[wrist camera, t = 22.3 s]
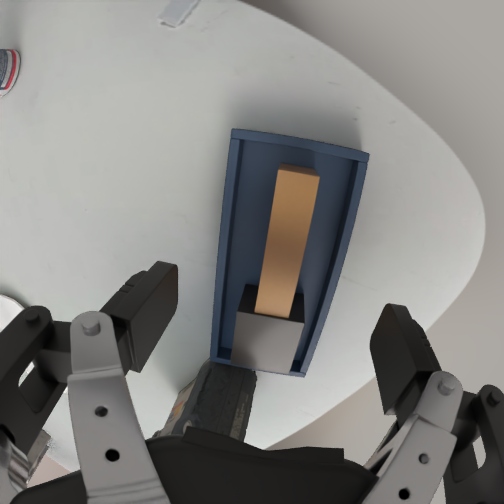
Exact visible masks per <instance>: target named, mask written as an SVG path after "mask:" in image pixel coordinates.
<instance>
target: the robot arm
mask: <svg viewBox="0 0 504 504" xmlns="http://www.w3.org/2000/svg"><path fill="white" fill-rule="evenodd" d="M177 304H178V267H177V265H176V264H171V263H166V262H162V261H157V262H156V263H155V264H154V265H153V266H152V267H151V268H150V269H149V270H148V271H141V272H139V273H137V274H135V275H133V276H131V278H130V279H129V280H128V281H127V282H126V283H125V285H123V286H122V287H121V288H120V289H119V291H117V292H116V293H115V294H114V295H113V297H112V298H111V299H110V300H109V301H108V302H107V303H106V304H105V305H104V306H103V307H102V308H101V310H100V311H99V312H98V311H89V312H85V313H82V314H80V315H78V316H77V317H76V318H74V320H73V321H72V322H62V321H53V319H52V316H51V313H50V311H49V310H48V309H47V308H46V307H43V306H31V307H28V308H26V309H24V310H22V311H21V312H20V313H19V314H18V315H17V316H16V317H15V318H14V319H13V320H12V321H11V322H10V323H9V324H8V325H7V326H6V327H5V328H4V329H3V330H2V331H1V332H0V504H430V502H431V500H432V498H433V496H434V494H435V492H436V490H437V488H438V486H439V484H440V482H441V479H442V477H443V480H444V488H445V497H446V504H504V394H503V393H502V392H501V390H500V389H498V388H497V387H495V386H493V385H484V386H483V387H482V388H481V390H480V391H479V392H478V393H477V394H474V393H470V392H466V391H463V388H462V385H461V383H460V381H459V380H458V379H457V378H456V377H455V376H454V375H452V374H450V373H449V372H445V371H442V369H441V367H440V365H439V363H438V360H437V358H436V356H435V354H434V352H433V349H432V347H430V343H429V341H428V340H427V336H426V335H425V332H424V330H423V328H422V327H421V326H420V325H419V324H418V323H417V322H416V321H415V320H413V319H412V317H411V315H410V313H409V311H408V309H407V307H406V306H403V305H396V304H390V303H388V304H386V305H385V307H384V309H383V311H382V313H381V316H380V318H379V320H378V322H377V324H376V327H375V329H374V331H373V333H372V336H371V339H370V352H371V356H372V360H373V364H374V368H375V373H376V377H377V381H378V386H379V391H380V396H381V400H382V406H383V410H384V415H396V417H397V420H396V421H395V422H394V423H393V425H392V426H391V428H390V429H389V431H388V433H387V434H386V436H385V437H384V439H383V440H382V442H381V443H380V445H379V446H378V448H377V449H376V451H375V452H374V454H373V455H372V456H371V458H370V459H369V460H368V462H367V463H366V464H365V465H364V466H361V465H359V464H357V463H355V462H353V461H350V460H347V459H344V449H343V448H321V447H300V448H291V449H282V450H271V451H266V450H262V449H259V448H257V447H254V446H252V445H249V444H247V443H244V442H242V441H239V440H237V439H235V438H232V437H230V436H228V435H225V434H220V433H216V432H212V431H207V430H203V429H199V428H195V427H192V426H188V425H187V427H186V430H185V433H184V435H179V434H176V435H163V436H157V437H153V438H149V439H147V440H145V439H144V436H143V433H142V430H141V427H140V425H139V422H138V419H137V415H136V412H135V409H134V406H133V403H132V399H131V396H130V393H129V389H128V385H127V382H126V378H125V376H126V374H127V373H128V371H129V370H132V371H135V372H138V373H140V372H141V370H142V369H143V367H144V365H145V363H146V362H147V360H148V358H149V356H150V355H151V353H152V351H153V350H154V348H155V346H156V344H157V343H158V341H159V339H160V338H161V336H162V334H163V332H164V331H165V329H166V327H167V326H168V324H169V322H170V321H171V319H172V317H173V316H174V314H175V311H176V308H177ZM31 362H32V363H33V365H34V368H33V369H32V370H31V372H30V373H29V374H28V376H27V377H26V378H25V380H24V381H23V383H22V384H21V385H20V387H19V386H18V384H19V379H20V377H21V375H22V374H23V373H24V371H25V370H26V369H27V367H28V366H29V365H30V363H31ZM66 387H68V397H69V406H70V414H71V421H72V428H73V434H74V439H75V445H76V450H77V455H78V459H79V464H80V468H81V469H80V470H77V471H75V472H72V473H70V474H67V475H65V476H62V477H59V478H56V479H54V480H51V481H48V482H45V483H42V484H39V485H36V486H33V487H30V488H27V482H29V480H30V478H31V476H30V472H29V462H28V459H27V455H28V453H29V451H30V449H31V447H32V446H33V444H34V442H35V440H36V438H37V436H38V435H39V433H40V431H41V429H42V427H43V426H44V424H45V422H46V420H47V419H48V417H49V415H50V414H51V412H52V410H53V409H54V407H55V405H56V404H57V402H58V400H59V399H60V397H61V395H62V394H63V392H64V391H65V389H66ZM480 436H481V437H482V441H483V445H484V449H485V452H486V459H485V462H484V464H483V466H482V467H480V468H479V469H478V465H477V460H476V457H475V452H474V448H473V444H472V443H473V442H474V441H475V440H476V439H478V437H480Z"/></svg>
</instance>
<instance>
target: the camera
mask: <svg viewBox="0 0 504 504" xmlns="http://www.w3.org/2000/svg"><path fill="white" fill-rule="evenodd" d="M256 381H257V376H256V372H255V371H253V370H251V369H247V368H242V367H237V366H232V365H227V364H223V363H218V362H213V361H210V358H209V359H208V360H207V361H206V362H205V363H204V364H203V366H202V367H201V369H200V371H199V373H198V376H197V378H196V379H194V380H193V381H192V382H191V383H190V384H189V385H188V386H187V387H186V388H185V389H183V390H182V391H181V392H180V393H179V395H178V397H177V400H176V402H175V404H174V406H173V408H172V411H171V413H170V415H169V417H168V420H167V422H166V424H165V426H164V428H163V429H162V430H160V431H159V430H158V431H157V432H155V434H154V435H153V436H152V438H153V437H157V436H163V435H176V434H179V435H184V433H185V430H186V427H187V425H188V426H192V427H195V428H199V429H203V430H207V431H212V432H216V433H220V434H225V435H228V436H230V437H232V438H235V439H237V440H239V441H242V442H244V438H245V435H246V429H247V426H248V421H249V416H250V412H251V408H252V401H253V394H254V391H255V387H256Z"/></svg>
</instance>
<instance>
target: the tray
mask: <svg viewBox="0 0 504 504" xmlns="http://www.w3.org/2000/svg"><path fill="white" fill-rule="evenodd" d="M369 155H370V154H369V153H366V152H363V151H359V150H355V149H351V148H346V147H342V146H338V145H333V144H328V143H324V142H319V141H314V140H309V139H303V138H298V137H292V136H286V135H280V134H273V133H267V132H259V131H252V130H244V129H232V130H231V139H230V146H229V154H228V162H227V170H226V179H225V188H224V197H223V206H222V216H221V226H220V236H219V246H218V257H217V268H216V280H215V292H214V305H213V319H212V333H211V349H210V361H213V362H218V363H223V364H227V365H232V366H237V367H242V368H247V369H253V370H258V371H264V372H270V373H276V374H283V375H290V376H297V377H305V375H306V372H307V370H308V367H309V365H310V362H311V359H312V357H313V354H314V351H315V349H316V346H317V343H318V341H319V338H320V335H321V332H322V329H323V326H324V323H325V321H326V318H327V315H328V312H329V309H330V306H331V302H332V299H333V296H334V293H335V290H336V287H337V283H338V280H339V277H340V274H341V270H342V267H343V263H344V260H345V256H346V253H347V249H348V245H349V242H350V238H351V234H352V230H353V227H354V223H355V219H356V215H357V210H358V206H359V202H360V198H361V193H362V189H363V184H364V180H365V175H366V170H367V165H368V160H369ZM280 163H285V164H291V165H297V166H302V167H307V168H313V169H315V170H316V172H317V173H318V175H319V177H320V179H319V184H318V190H317V195H316V200H315V205H314V210H313V214H312V219H311V224H310V229H309V233H308V238H307V243H306V247H305V251H304V256H303V260H302V265H301V269H300V273H299V277H298V282H297V286H296V290H295V293H301V294H304V308H305V325H304V328H303V332H302V335H301V338H300V341H299V344H298V347H297V351H296V354H295V357H294V360H293V363H292V366H291V369H290V372H289V374H284V373H277V372H271V371H265V370H259V369H254V368H248V367H243V366H238V365H233V364H230V360H231V353H232V345H233V337H234V330H235V322H236V314H237V309H238V306H239V303H240V300H241V297H242V293H243V290H244V287H245V284H250V285H256V286H259V283H260V277H261V271H262V265H263V260H264V254H265V248H266V242H267V236H268V230H269V223H270V217H271V211H272V205H273V199H274V193H275V186H276V180H277V174H278V169H279V166H280Z"/></svg>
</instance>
